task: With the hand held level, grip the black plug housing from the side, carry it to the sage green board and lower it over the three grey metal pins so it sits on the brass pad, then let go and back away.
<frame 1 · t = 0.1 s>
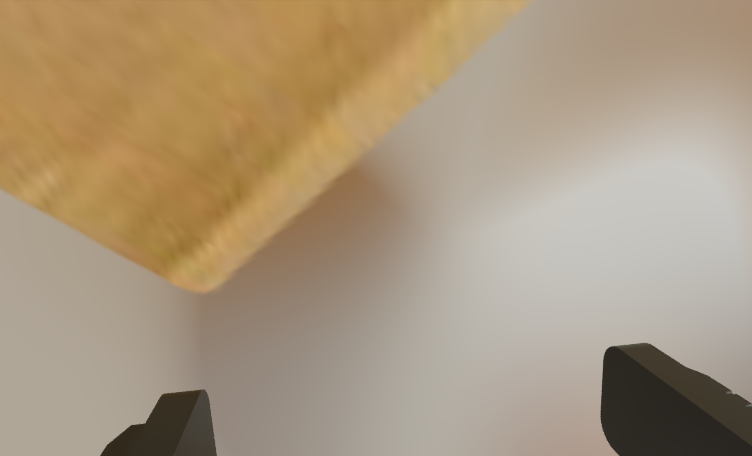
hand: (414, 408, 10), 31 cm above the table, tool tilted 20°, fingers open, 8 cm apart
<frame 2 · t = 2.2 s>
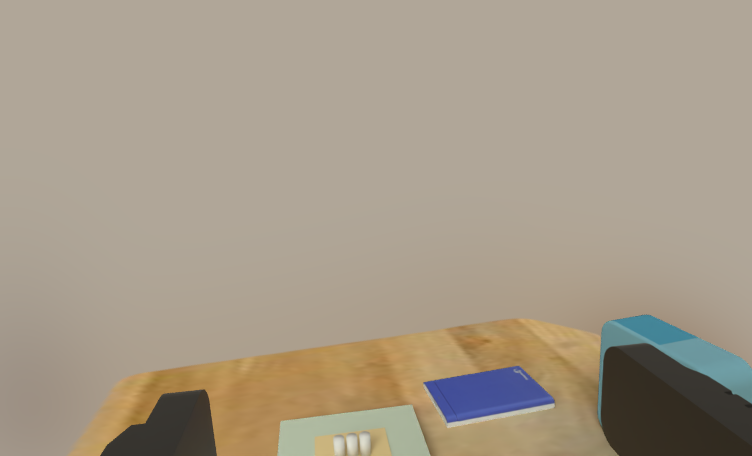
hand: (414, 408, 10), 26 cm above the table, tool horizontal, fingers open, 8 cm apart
hard drive: (486, 403, 56), on the table
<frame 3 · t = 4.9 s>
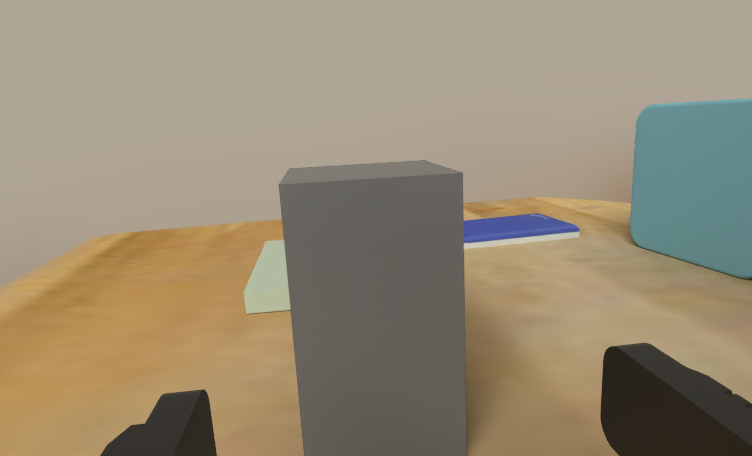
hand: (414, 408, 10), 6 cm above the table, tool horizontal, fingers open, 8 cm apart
plug housing: (378, 419, 19), on the table
hard drive: (500, 241, 49), on the table
pin board: (347, 272, 39), on the table
data package: (707, 261, 38), on the table
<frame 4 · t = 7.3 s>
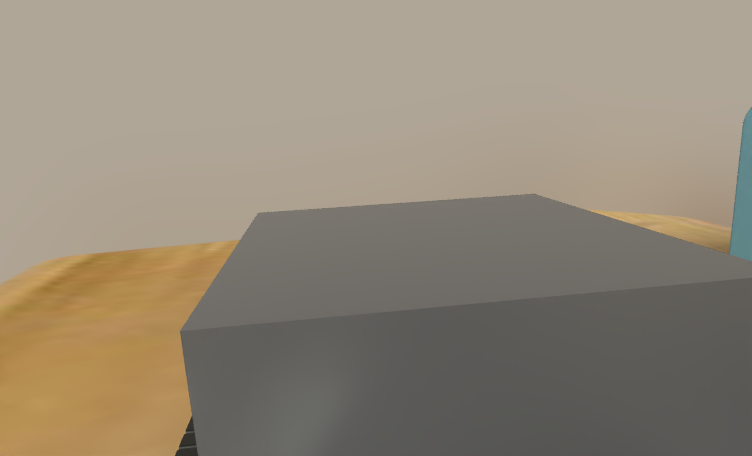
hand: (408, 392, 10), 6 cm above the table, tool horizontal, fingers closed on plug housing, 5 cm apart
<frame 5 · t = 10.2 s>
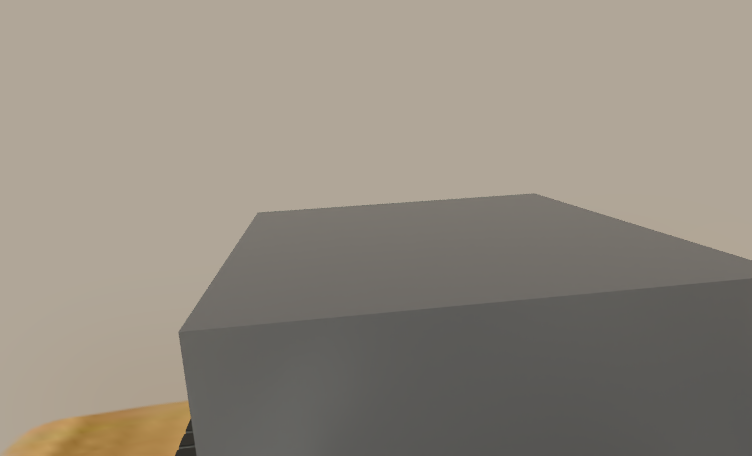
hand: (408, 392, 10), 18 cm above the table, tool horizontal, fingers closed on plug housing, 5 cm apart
when the fingers open (8 cm above the table, at t = 13.1 s): plug housing stays where it is, resting on pin board.
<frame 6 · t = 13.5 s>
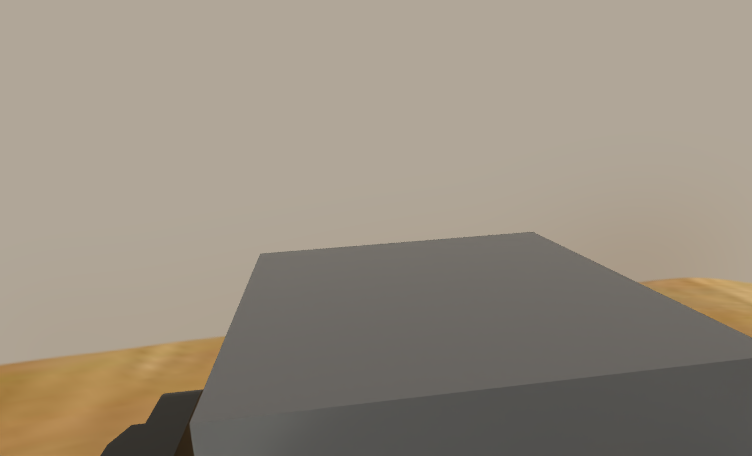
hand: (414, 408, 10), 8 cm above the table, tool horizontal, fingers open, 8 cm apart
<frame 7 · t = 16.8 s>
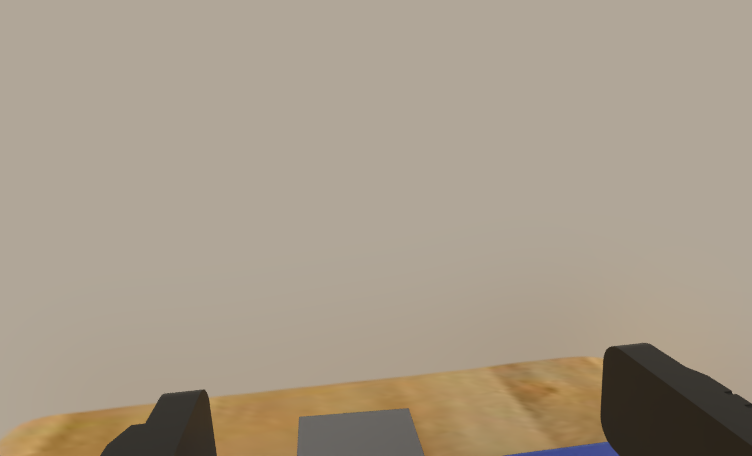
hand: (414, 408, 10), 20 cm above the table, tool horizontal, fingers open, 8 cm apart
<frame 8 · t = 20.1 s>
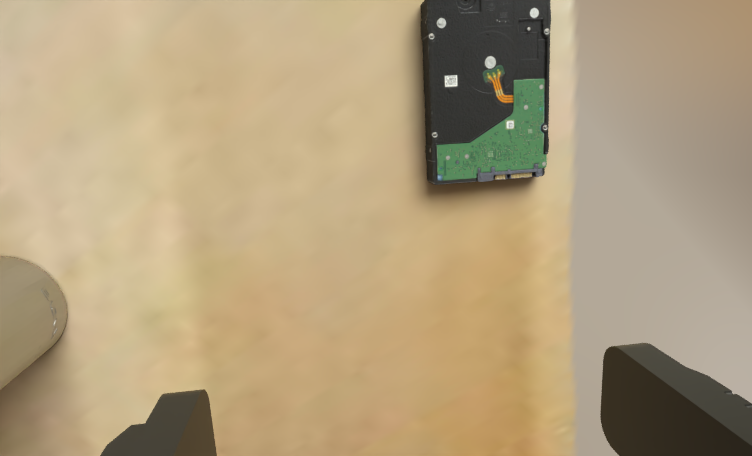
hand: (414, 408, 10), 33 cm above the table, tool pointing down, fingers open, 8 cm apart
disk drive: (479, 93, 42), on the table
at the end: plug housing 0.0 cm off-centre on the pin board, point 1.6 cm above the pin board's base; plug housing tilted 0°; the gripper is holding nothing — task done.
